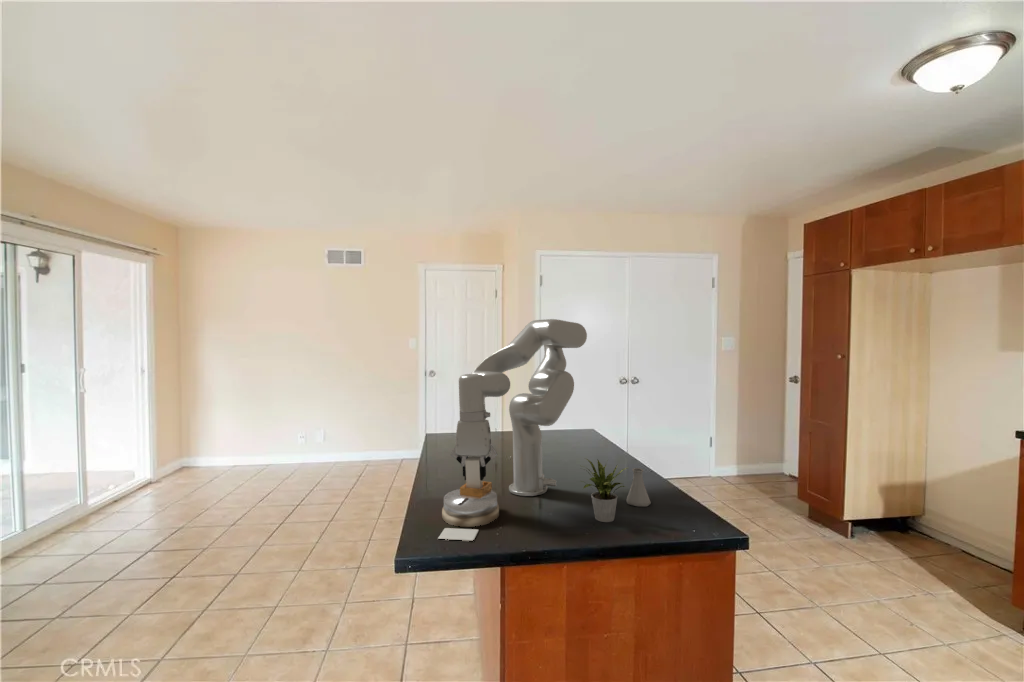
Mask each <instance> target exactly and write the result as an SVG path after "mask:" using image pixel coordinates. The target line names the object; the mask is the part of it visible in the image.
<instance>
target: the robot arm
mask: <svg viewBox="0 0 1024 682" xmlns="http://www.w3.org/2000/svg"><path fill="white" fill-rule="evenodd" d="M587 337H588V333H587V330H586V328H585V327H584V325H582V323H579V322H574V321H566V320H562V319H554V318H549V319H547V318H546V319H536V320H532V321H530V322H528V324H527V325H525V326H524V327H523V329H521V331H520V332H519V333H518V334H517V335H516V336H515V337H514V338H513V339H512V340H511V342H510V343H508V344H507V345H505V347H502V348H501V349H499V350H497V351H496V352H493V354H491V355H489V356H487V357H486V358H484V359H483V360H482V361H481V362H480V363H479V364H478V365H477V366H476V367H475V368H474V369H473V371H472V372H471V373H466V374H461V375H460V376H459V378H458V401H459V403H458V404H459V405H458V406H459V420H458V421H457V424H456V433H455V446H454V447H453V449H452V450H451V453H450V456H451V458H453V459H455V460H456V461H457V462H458V463H459V464H460V465H461V467H462V477H464V481H466V466H465V460H466V459H467V458H468V457H469V456H479V457H480V462H481V466H480V480H481V481H482V480H483V481H484V478H486V476H487V467H486V466H487V464H488V463H489V462H490V461H491V460H493V459H495V458H497V456H498V452H497V450H496V449H495V448H494V446H493V443H492V442H493V441H492V431H491V425H490V422H489V419H488V418H491V412H488V411H487V409H486V398H500V397H503V396H505V395H506V394H507V393H508V392H509V390H510V389H511V381H510V378H509V377H508V375H506V374H505V372H508V371H510V370H515V369H518V368H520V367H522V366H524V365H527V364H528V363H529V362H530V361H531V360H532V358H534V356H535V355H536V353H537V352H538V351H539V350H540V349H541V348H542V347H543V350H544V355H543V358H542V360H541V362H540V363H539V365H538V367H537V368H536V370H535V371H534V373H533V374H532V375H531V378H530V379H529V382H528V384H527V385H528V391H529V392H530V393H528V392H527V393H526V392H525V393H518V394H516V395H515V396H513V397H512V398H511V400H510V402H509V407H508V408H509V409H508V412H509V417H510V421H511V422H510V423H511V429H512V458H513V459H512V460H513V463H512V465H513V466H512V467H513V470H512V471H513V472H512V473H513V482H512V483H511V484H510V485H509V486H508V491H509V492H510V493H511V494H513V495H516V496H521V497H534V496H539V495H543V494H545V493H546V492H547V491H548V486H549V487H557V480H556V479H553V478H552V477H551V478H546V477H545V473H543V436H542V432H541V428H540V426H543V427H549V426H553V425H555V423H556V422H557V421H558V420H559V419H560V417H561V415H562V414H563V411H564V410H565V408H566V406H567V405H568V403H569V402H570V399H571V398H572V396H573V393H574V391H575V382H574V378H573V375H572V374H571V373H570V372H568V371H566V367H567V359H566V357H565V354H564V350H563V349H578V348H582V347H583V346H584V345H585V343H586V342H587ZM489 454H490V455H489Z"/></svg>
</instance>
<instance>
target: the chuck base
mask: <svg viewBox="0 0 1024 682" xmlns="http://www.w3.org/2000/svg"><path fill="white" fill-rule="evenodd" d="M499 516H500V506H499V503H497V508H496V510H495V511H493V512H492V513H489V514H487V515H484V516H479V517H471V518H462V517H455V516H451V515H449V514H447V513H446V512H445V511H444V506H443V507H442V508H441V517H442V518H441V519H442V521H443V520H444V521H445V523H446V524H447V523H448V525H450V526H453V525H454V527H458V526H460V527H461V528H476V527H480V525H481V526H486V525H487V524H491V523H493V522H495V521H496V520H497V519H498V518H499ZM495 519H496V520H495ZM494 520H495V521H494ZM444 521H443V522H444ZM492 521H493V522H492ZM490 522H491V523H490ZM475 526H476V527H475Z"/></svg>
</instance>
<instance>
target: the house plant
mask: <svg viewBox="0 0 1024 682" xmlns="http://www.w3.org/2000/svg"><path fill="white" fill-rule="evenodd" d="M585 460H586V461H588V462H589V463H590V465H591V468H592V471H593V472H592V471H591V469H589V468H587V467H586V466H583V465H581V467H583V470H584V471H586V472H588V474H589V475H590V478H589V480H590V481H591V482H593V484H592V483H586V482H585V485H584V486H583V488H582V490H584V489H586V488H588V487H591V486H593V487H595V488H596V489H597V491H596V490H594V492H592V493H591V494H590V496H591V502H592V508H593V513H594V518H595V520H596V521H598V522H603V523H611V522H613V521H614V520H615V516H616V509H617V508H616V507H617V503H618V494H616V493H615V491H616V490H618V489H620V488H622V487H623V488H626V486H625V485H623V483H621V482H614V480H616V478H617V477H618V476H619V475H620V474H621V473H622V472H623V471H624V470H627V469H628V467H626V468H623V469H621V470H620V471H619V472H618V473H617V474H615V472H616V470H617V468H618V466H619V465H618V464H616V466H615V467H614V468H613V470H612V472H611V473H609V474H607V475H606V472H605V470H606V467H607V463H605V464H604V465H603V464H602V463H601V462H600V460H599V458H597V470H596V467H595V465H594V463H593V462H592V461H591V460H590V459H588V458H585ZM608 460H609V459H608ZM608 460H606V462H608ZM584 468H585V469H584ZM586 469H587V470H586ZM597 471H598V472H597ZM590 473H591V474H592V475H591V474H590ZM614 475H615V476H614ZM581 482H583V483H584V481H582V480H581ZM618 485H620V486H618ZM616 486H618V487H617V488H615V487H616ZM614 488H615V489H614ZM613 489H614V490H613ZM612 490H613V491H612Z"/></svg>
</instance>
